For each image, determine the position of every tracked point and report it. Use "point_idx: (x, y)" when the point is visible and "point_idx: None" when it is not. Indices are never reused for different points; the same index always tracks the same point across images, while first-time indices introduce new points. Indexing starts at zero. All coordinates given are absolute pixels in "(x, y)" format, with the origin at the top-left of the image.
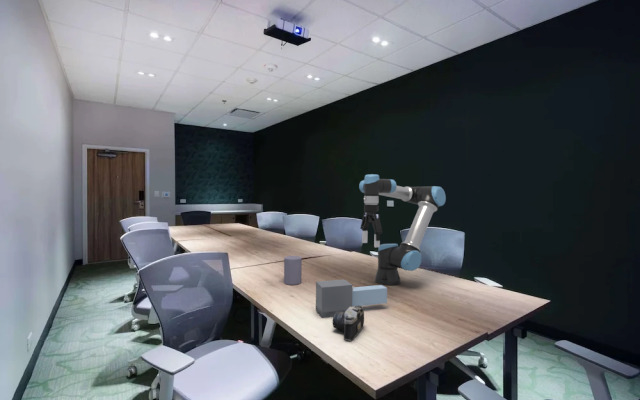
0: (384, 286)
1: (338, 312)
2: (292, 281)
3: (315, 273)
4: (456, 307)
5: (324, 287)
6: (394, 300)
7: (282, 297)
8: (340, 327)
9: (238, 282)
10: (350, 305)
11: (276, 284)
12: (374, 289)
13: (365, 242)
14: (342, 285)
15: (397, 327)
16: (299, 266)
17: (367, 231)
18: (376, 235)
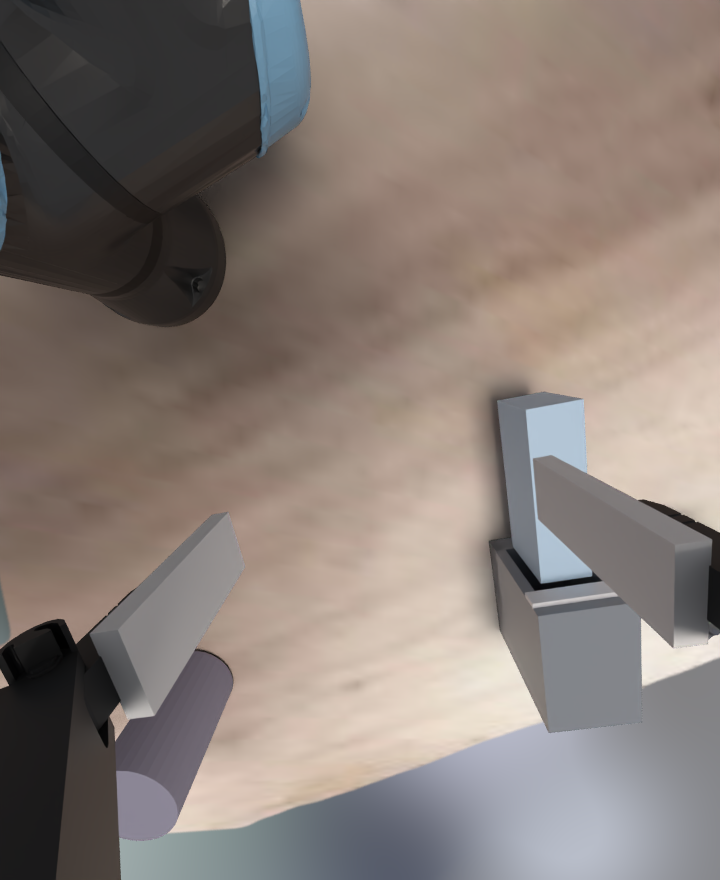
0: (555, 404)
1: (714, 631)
2: (227, 694)
3: (48, 584)
4: (584, 22)
5: (641, 713)
6: (444, 321)
7: (367, 712)
8: None
9: (205, 827)
10: None
11: (224, 726)
12: (586, 468)
13: (233, 538)
14: (636, 644)
15: (700, 408)
16: (181, 735)
17: (127, 622)
18: (701, 601)
